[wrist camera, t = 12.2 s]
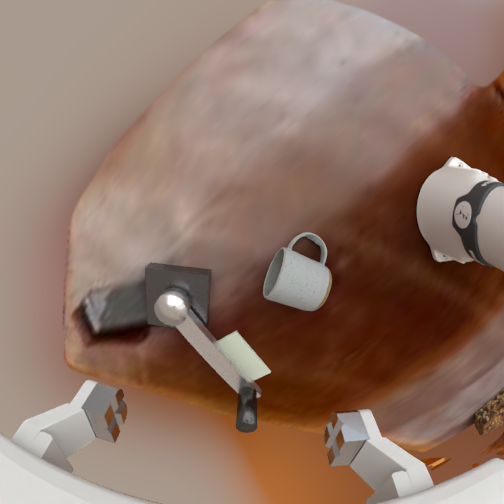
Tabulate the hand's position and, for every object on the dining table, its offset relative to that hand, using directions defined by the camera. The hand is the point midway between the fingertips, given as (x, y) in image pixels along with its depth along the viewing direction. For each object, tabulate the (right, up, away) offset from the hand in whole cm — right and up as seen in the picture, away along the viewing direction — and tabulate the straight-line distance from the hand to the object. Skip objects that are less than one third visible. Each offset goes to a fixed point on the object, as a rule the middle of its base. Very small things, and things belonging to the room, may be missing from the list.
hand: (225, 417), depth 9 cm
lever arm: (-5, -9, +35) cm, 37 cm away
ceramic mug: (+8, +4, +34) cm, 36 cm away
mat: (-2, -14, +39) cm, 42 cm away
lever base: (-11, -1, +36) cm, 37 cm away
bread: (+84, -46, +48) cm, 107 cm away
